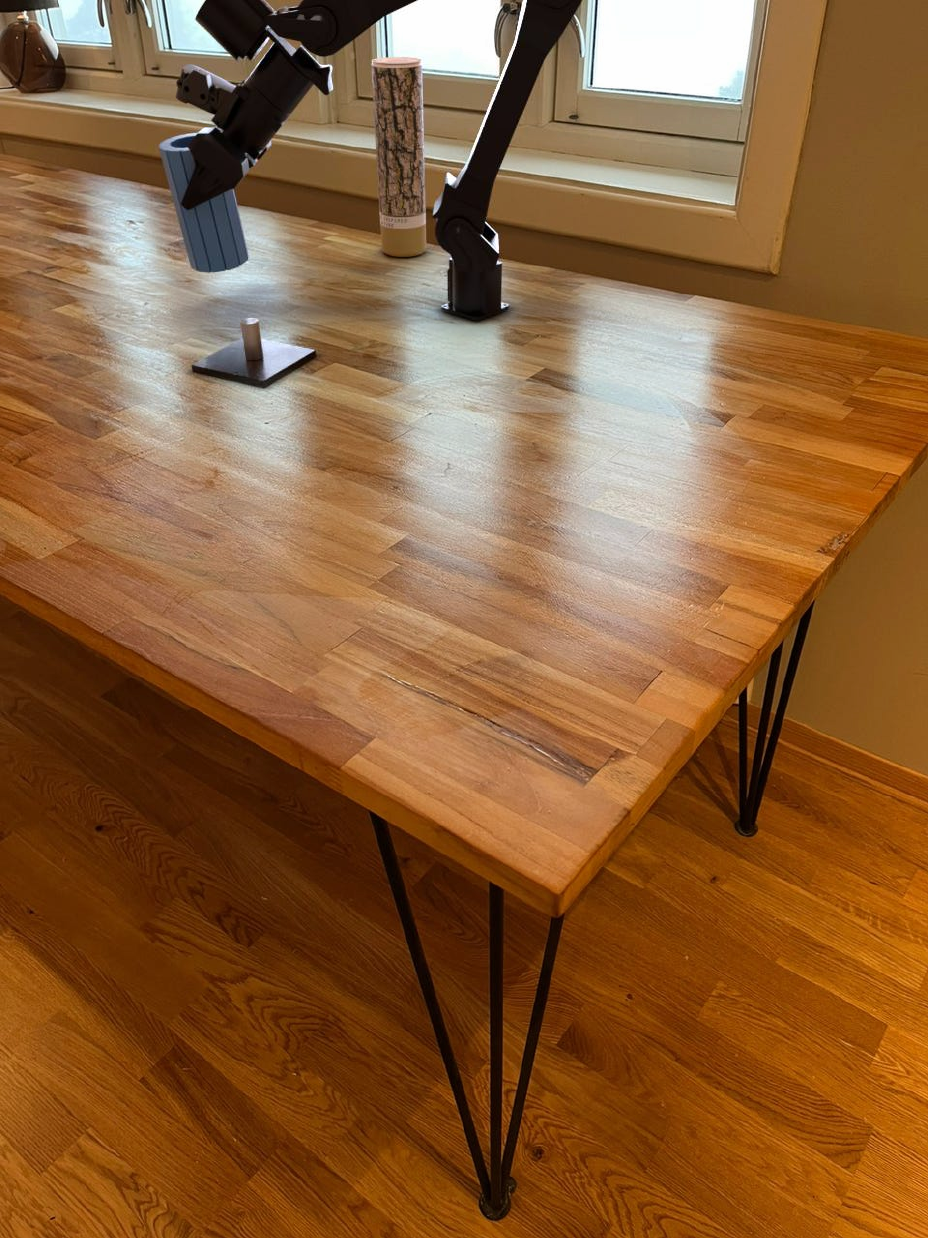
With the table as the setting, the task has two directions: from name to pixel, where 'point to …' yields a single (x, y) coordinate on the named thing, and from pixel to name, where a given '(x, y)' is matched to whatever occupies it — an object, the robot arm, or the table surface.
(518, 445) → the table surface
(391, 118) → the paper tube
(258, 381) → the peg stand
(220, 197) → the blue fluted tube
